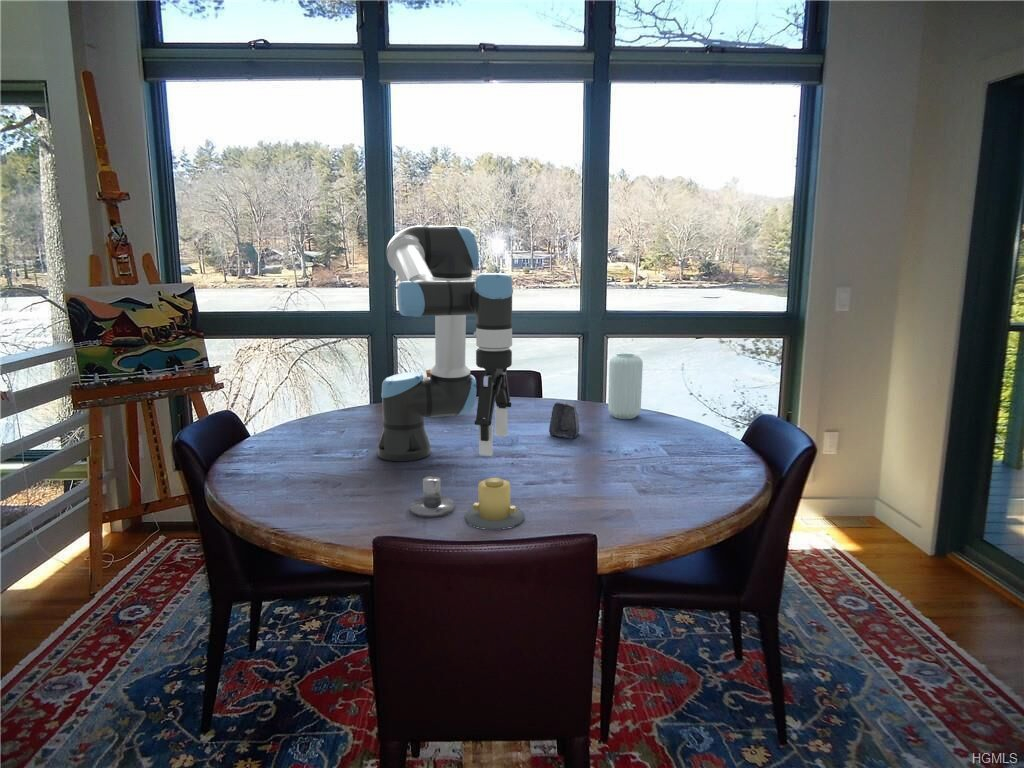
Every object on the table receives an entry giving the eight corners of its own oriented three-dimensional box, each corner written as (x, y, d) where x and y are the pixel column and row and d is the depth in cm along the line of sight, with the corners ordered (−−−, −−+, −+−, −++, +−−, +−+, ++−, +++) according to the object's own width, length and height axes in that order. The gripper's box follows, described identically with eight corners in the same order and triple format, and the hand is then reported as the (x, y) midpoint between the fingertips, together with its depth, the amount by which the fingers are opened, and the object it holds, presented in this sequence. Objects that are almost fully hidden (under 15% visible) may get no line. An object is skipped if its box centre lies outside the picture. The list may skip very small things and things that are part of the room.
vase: (616, 411, 241) (618, 351, 237) (645, 415, 234) (648, 354, 230) (602, 417, 232) (604, 355, 228) (631, 422, 225) (634, 358, 221)
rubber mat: (457, 526, 139) (457, 523, 139) (474, 504, 151) (474, 501, 151) (517, 532, 136) (517, 529, 136) (529, 509, 149) (529, 505, 149)
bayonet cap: (478, 506, 148) (478, 474, 146) (518, 510, 146) (518, 477, 144) (469, 518, 141) (469, 484, 140) (511, 522, 139) (511, 488, 138)
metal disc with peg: (403, 516, 145) (402, 485, 143) (419, 499, 154) (418, 470, 153) (446, 519, 143) (445, 488, 141) (459, 503, 152) (459, 473, 151)
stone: (570, 446, 203) (542, 433, 207) (578, 443, 213) (551, 431, 216) (584, 410, 202) (555, 398, 205) (592, 409, 211) (564, 398, 214)
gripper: (491, 338, 149) (491, 428, 154) (459, 357, 125) (460, 462, 130) (523, 340, 147) (522, 430, 152) (497, 359, 124) (496, 465, 128)
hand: (493, 445), depth 141 cm, fingers open, 13 cm apart
